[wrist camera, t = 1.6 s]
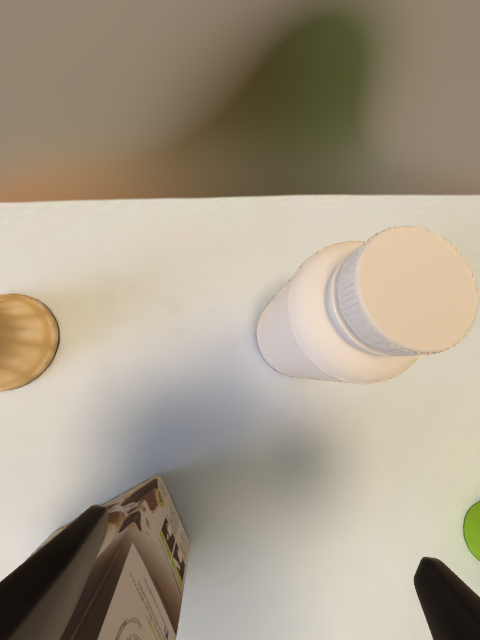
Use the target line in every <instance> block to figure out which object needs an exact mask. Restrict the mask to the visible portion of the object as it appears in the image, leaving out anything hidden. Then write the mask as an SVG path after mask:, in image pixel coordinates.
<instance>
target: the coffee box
mask: <svg viewBox="0 0 480 640" xmlns="http://www.w3.org/2000/svg"><path fill="white" fill-rule="evenodd" d="M101 506H106V507H108V524H107V533H106V536H105V539H104V541H103V544H102V546H101V548H100V551H99V553H98V555H97V558H96V560H95V563H94V565H93V567H92V570H91V572H90V574H89V577H88V579H87V581H86V584H85V586H84V588H83V591H82V593H81V595H80V598H79V600H78V603H77V605H76V607H75V609H74V612H73V614H72V616H71V618H70V620H69V622H68V624H67V626H66V628H65V631H64V633H63V634H62V636H61V638H60V640H176V635H177V629H178V622H179V616H180V609H181V602H182V595H183V589H184V581H185V574H186V568H187V561H188V554H189V548H190V543H189V540H188V538H187V535H186V533H185V530H184V528H183V526H182V523H181V521H180V518H179V516H178V513H177V511H176V509H175V506H174V504H173V502H172V499H171V497H170V494H169V492H168V490H167V487H166V485H165V483H164V481H163V478H162V476H161V475H156V476H154V477H152V478H150V479H148V480H146V481H145V482H143V483H141V484H139V485H137V486H135V487H134V488H132V489H130V490H128V491H127V492H125V493H123V494H121V495H119V496H118V497H116V498H114V499H112V500H110V501H109V502H107V503H105V504H103V505H101ZM72 522H73V521H72ZM72 522H71V523H72ZM69 524H70V523H69ZM69 524H67V525H65V526H63V527H62V528H60V529H58V530H56V531H55V532H53V533H52V534H51V535H50V536H49V537H48V538H47V539H46V540H45V541H44V542H43V543H42V544H41V545H40V546H39V547H38V548H37V549H36V550H35V551H34V552H33V553H32V554H31V556H32V555H33V554H35V553H36V552H37V551H38V550H39V549H41V548H42V547H43V546H44V545H45V544H47V543H48V542H49V541H50V540H51V539H52V538H54V537H55V536H56V535H57V534H58V533H60V532H61V531H62V530H63V529H64V528H66V527H67V526H68V525H69ZM31 556H30V557H31ZM30 557H29V558H30ZM29 558H28V559H29Z"/></svg>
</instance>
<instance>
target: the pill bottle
mask: <svg viewBox="0 0 480 640" xmlns="http://www.w3.org/2000/svg"><path fill="white" fill-rule="evenodd" d="M477 305H478V296H477V288H476V284H475V280H474V277H473V275H472V272H471V270H470V268H469V266H468V265H467V263H466V261H465V260H464V258H463V257H462V256H461V254H460V253H459V252H458V251H457V250H456V249H455V248H454V247H453V246H452V245H451V244H450V243H448V242H447V241H446V240H444V239H443V238H441V237H440V236H438V235H436V234H434V233H432V232H430V231H427V230H424V229H421V228H416V227H394V228H389V229H387V230H386V229H385V230H383V231H382V232H379V233H377V234H375V235H374V236H372V237H371V238H370V239H368V240H367V241H366V242H362V241H349V242H342V243H338V244H334V245H331V246H328V247H326V248H323V249H321V250H319V251H318V252H316V253H314V254H313V255H312V256H310V257H309V258H308V259H307V260H306V261H305V262H304V263H303V264H302V265H301V266H300V267H299V268H298V270H297V271H296V272H295V273H294V274H293V275H292V277H291V278H290V279H289V280H288V281H287V283H286V284H285V285H284V286H283V287H282V288H281V290H280V291H279V292H278V293H277V294H276V295H275V297H274V298H273V299H272V300H271V301H270V303H269V304H268V305H267V306H266V307H265V309H264V310H263V312H262V313H261V315H260V318H259V321H258V324H257V331H256V336H257V343H258V347H259V349H260V352H261V354H262V355H263V357H264V359H265V360H266V361H267V362H268V363H269V364H270V365H271V366H272V367H273V368H274V369H276V370H277V371H279V372H281V373H283V374H285V375H288V376H292V377H299V378H308V379H317V380H326V381H335V382H344V383H354V384H372V383H378V382H382V381H385V380H388V379H390V378H393V377H395V376H397V375H399V374H401V373H402V372H404V371H405V370H407V369H408V368H409V367H410V366H412V365H413V364H414V363H415V362H416V361H417V359H418V358H419V357H420V356H421V355H429V354H436V353H439V352H443V351H445V350H448V349H450V347H453V346H455V344H457V343H459V342H460V340H462V339H463V338H464V337H465V335H466V334H467V333H468V332H469V330H470V328H471V327H472V325H473V322H474V320H475V317H476V313H477Z"/></svg>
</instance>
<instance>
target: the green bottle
mask: <svg viewBox="0 0 480 640" xmlns="http://www.w3.org/2000/svg"><path fill="white" fill-rule="evenodd" d="M464 535H465V540H466V543H467V545H468V547H469V549H470V551H471V552H472V554H473V555H474V556H475V557H476V558H477V559H478V560H479V561H480V502H479V503H477V504H475V505H474V506H473V507H472V508H471V509H470V510H469V512H468V513H467V515H466V518H465V522H464Z"/></svg>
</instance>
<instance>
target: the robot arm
mask: <svg viewBox="0 0 480 640" xmlns="http://www.w3.org/2000/svg"><path fill="white" fill-rule="evenodd" d="M107 524H108V507H106V506H101V505H93V506H91V507H90V508H88V509H87V510H86V511H85V512H84V513H82V514H81V515H80V516H79V517H78V518H76V519H75V520H74V521H73V522H72V523H70V524H69V525H68V526H67V527H66V528H64V529H63V530H62V531H61V532H60V533H58V534H57V535H56V536H55V537H54V538H52V539H51V540H50V541H49V542H48V543H47V544H45V545H44V546H43V547H42V548H41V549H39V550H38V551H37V552H36V553H35V554H33V555H32V556H31V557H30V558H29V559H27V560H26V561H25V562H24V563H23V564H21V565H20V566H19V567H18V568H17V569H15V570H14V571H13V572H12V573H11V574H9V575H8V576H7V577H6V578H5V579H3V580H2V581H1V582H0V640H60V638H61V636H62V634H63V633H64V631H65V628H66V626H67V624H68V622H69V620H70V618H71V616H72V614H73V612H74V609H75V607H76V605H77V603H78V600H79V598H80V595H81V593H82V591H83V588H84V586H85V584H86V581H87V579H88V577H89V574H90V572H91V570H92V567H93V565H94V563H95V560H96V558H97V555H98V553H99V551H100V548H101V546H102V544H103V541H104V539H105V536H106V533H107ZM414 585H415V589H416V592H417V595H418V598H419V601H420V603H421V606H422V609H423V612H424V615H425V617H426V620H427V623H428V626H429V629H430V631H431V634H432V637H433V640H480V597H479V596H478V595H477V594H476V593H475V592H474V591H472V590H471V589H470V588H469V587H468V586H467V585H466V584H465V583H464V582H463V581H462V580H461V579H460V578H459V577H458V576H457V575H456V574H455V573H454V572H452V571H451V570H450V569H449V568H448V567H447V566H446V565H445V564H444V563H443V562H442V561H440V560H439V559H436V558H430V557H423V558H422V559H421V561H420V564H419V566H418V569H417V571H416V573H415V576H414Z"/></svg>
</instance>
